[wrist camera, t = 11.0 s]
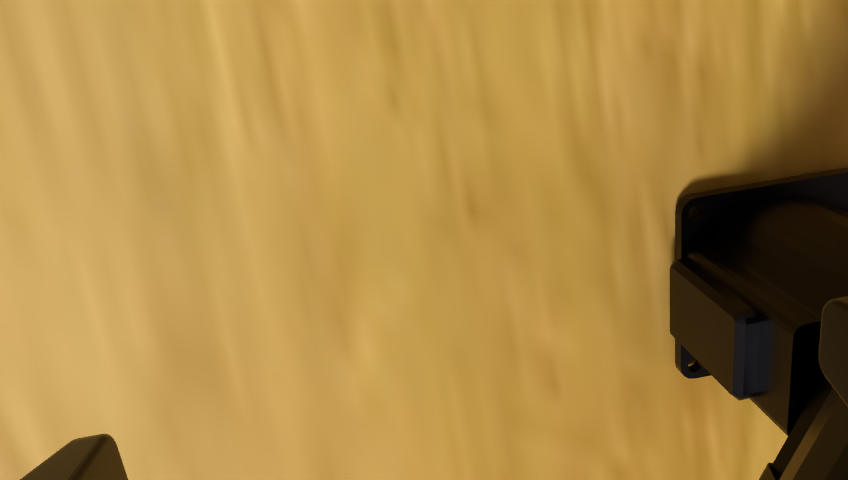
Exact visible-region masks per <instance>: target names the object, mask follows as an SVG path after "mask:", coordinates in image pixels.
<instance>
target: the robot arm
mask: <svg viewBox="0 0 848 480" xmlns="http://www.w3.org/2000/svg"><path fill="white" fill-rule="evenodd" d="M695 205H698V210H697V212H696V214H695V215H693V216H691V217H690V216H689V211H690V209H691V208H692V207H693V206H695ZM670 333H671V335H672V336H673V337H674V338H675V363H676V367H677V368H678V370H679V371H680V372H681V373H682V374H683V375H684V376H685V377H687V378H699V377H705V376H710V375H712V376H713V377H714V378H715V379H716V380H717V381H718V382H719V383H720V384H721V385H722V386H723V387H724V388H725V389H726V390H727V391H728V392H729V393H730V394H731V395H733V396H734V397H735V398H737V399H738V400H744V399H749V398H750V399H751V400H752V401H753V402H754V403H755V404H756V405H757V406H758V407H759V408H760V409H761V410H762V411H763V412H764V413H765V414H766V415H767V416H768V417H769V418H770V419H771V420H772V421H773V422H774V423H775V424H776V425H777V426H778V427H779V428H780V429H781V430H782V431H783V432H784V433H785V434H786V435H787V436H788V438H787V440H786V441H785V443H784V445H783V447H782V448H781V450H780V452H779V454H778V455H777V457H776V459H775V461H774V462H773V463H768V464H767V466H766V468H765V470H764V471H763V473H762V475H761V477H760V478H759V480H848V168H843V169H837V170H831V171H825V172H819V173H813V174H807V175H801V176H795V177H789V178H783V179H777V180H771V181H765V182H759V183H753V184H747V185H741V186H735V187H729V188H723V189H717V190H711V191H705V192H699V193H693V194H689V195H686V196H684V197H683V198H682V199H681V200H680V201H679V202H678V204H677V206H676V211H675V260H674V262H673V263H672V265H671V267H670ZM694 359H696V362H695V363H694V364H693V365H691V366H688V364H689V363H690V361H691V360H694ZM20 480H128V478H127V475H126V472H125V469H124V466H123V463H122V459H121V456H120V453H119V450H118V447H117V445H116V442H115V441H114V439H113V438H112V437H111V436H110V435H108V434H99V435H94V436H88V437H83V438H78V439H75V440H72V441H71V442H69V443H68V444H67V445H65V446H64V447H63V448H61V449H60V450H59V451H57V452H56V453H55V454H53V455H52V456H51V457H49V458H48V459H47V460H45V461H44V462H43V463H41V464H40V465H39V466H37V467H36V468H35V469H33V470H32V471H31V472H30V473H28V474H27V475H26V476H24V477H23V478H22V479H20Z"/></svg>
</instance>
